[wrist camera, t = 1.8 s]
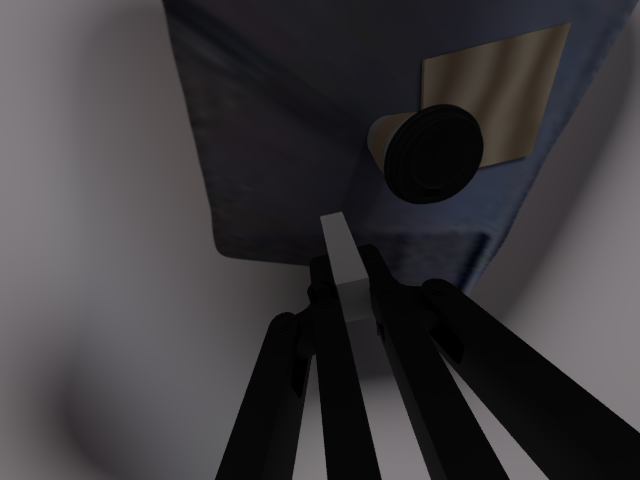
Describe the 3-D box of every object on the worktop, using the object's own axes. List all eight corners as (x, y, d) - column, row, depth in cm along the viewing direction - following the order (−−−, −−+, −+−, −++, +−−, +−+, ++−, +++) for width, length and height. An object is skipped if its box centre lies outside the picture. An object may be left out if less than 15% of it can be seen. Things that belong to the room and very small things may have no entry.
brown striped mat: (566, 23, 28) (571, 22, 28) (527, 154, 37) (531, 155, 37) (422, 60, 29) (424, 59, 29) (418, 180, 38) (420, 181, 37)
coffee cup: (367, 179, 37) (405, 225, 25) (344, 121, 32) (377, 141, 20) (424, 150, 35) (495, 183, 23) (409, 84, 30) (490, 81, 18)
